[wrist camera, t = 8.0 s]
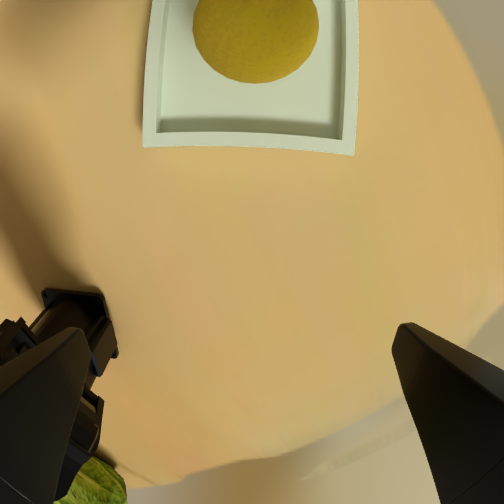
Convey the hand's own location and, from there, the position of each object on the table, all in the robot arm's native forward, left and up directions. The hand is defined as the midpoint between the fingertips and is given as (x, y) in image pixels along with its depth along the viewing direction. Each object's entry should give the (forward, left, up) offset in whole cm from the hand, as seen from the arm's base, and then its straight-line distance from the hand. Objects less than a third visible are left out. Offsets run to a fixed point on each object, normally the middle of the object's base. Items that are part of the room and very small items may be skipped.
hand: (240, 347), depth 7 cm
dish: (0, +10, -12) cm, 16 cm away
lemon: (0, +10, -12) cm, 16 cm away
